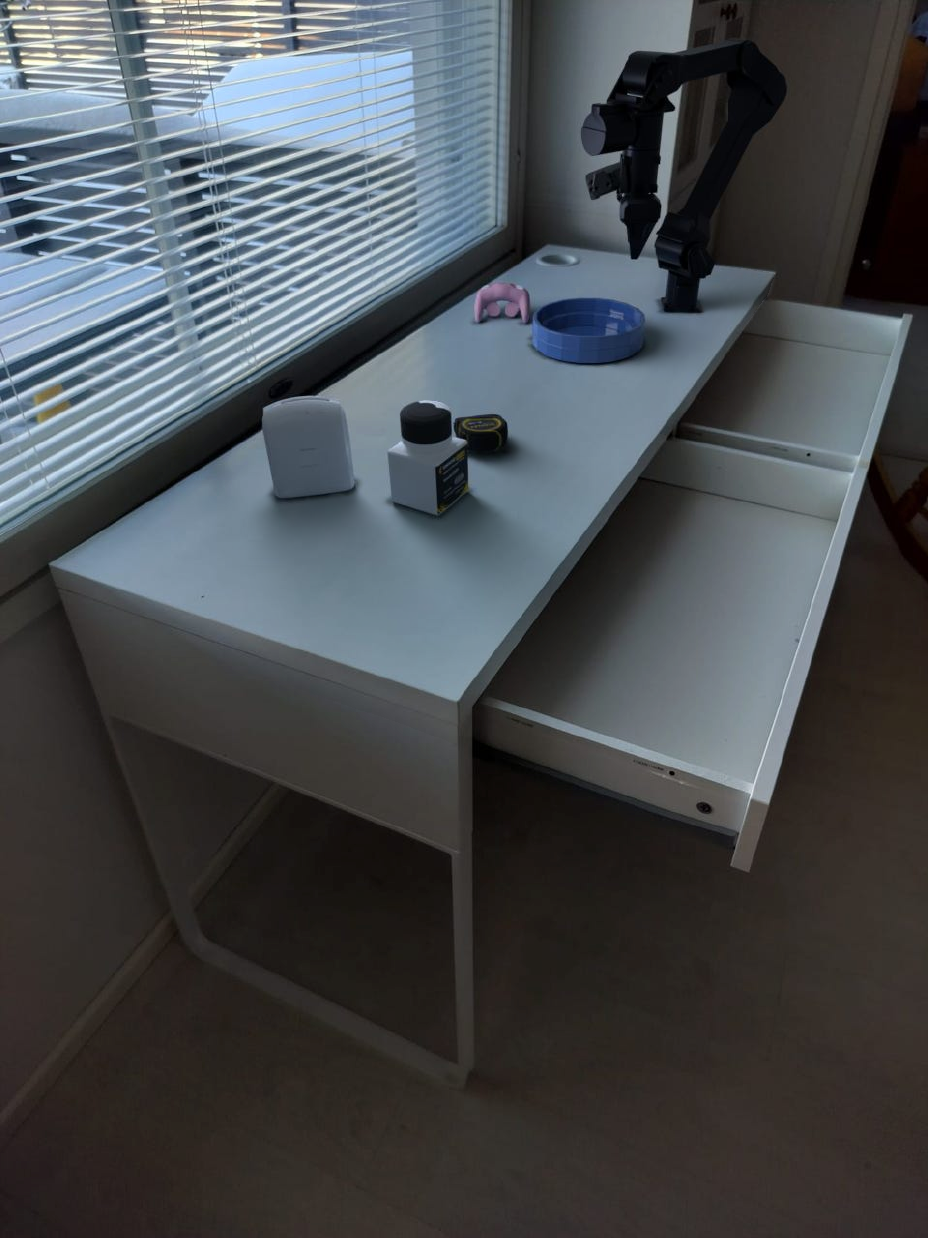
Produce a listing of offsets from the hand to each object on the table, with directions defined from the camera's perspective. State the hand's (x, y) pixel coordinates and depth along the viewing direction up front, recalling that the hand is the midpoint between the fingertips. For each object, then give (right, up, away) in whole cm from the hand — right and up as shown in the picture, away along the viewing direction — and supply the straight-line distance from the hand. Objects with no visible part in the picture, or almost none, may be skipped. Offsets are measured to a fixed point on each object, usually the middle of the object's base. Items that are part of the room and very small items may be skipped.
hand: (632, 250), depth 148 cm
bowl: (-8, -15, 0) cm, 17 cm away
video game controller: (-21, -8, +10) cm, 25 cm away
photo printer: (-47, -45, -35) cm, 74 cm away
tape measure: (-26, -38, -27) cm, 53 cm away
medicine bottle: (-32, -46, -37) cm, 68 cm away
